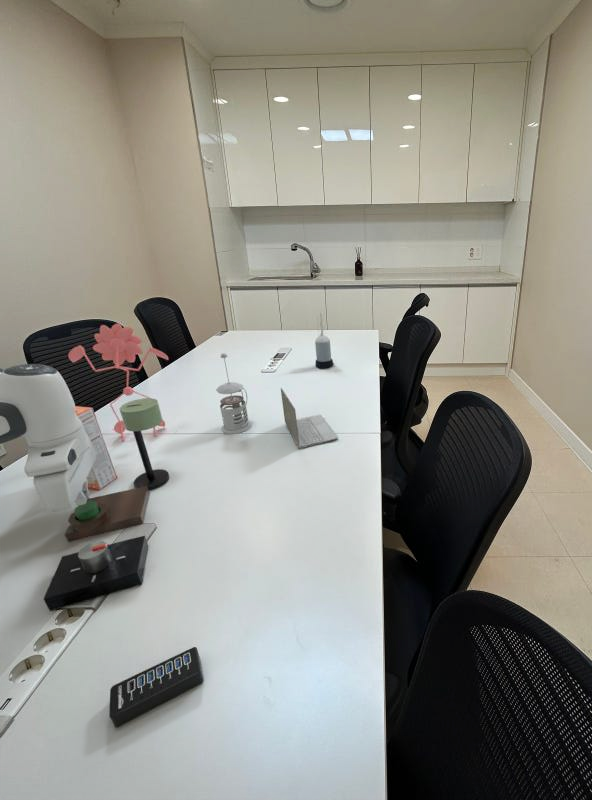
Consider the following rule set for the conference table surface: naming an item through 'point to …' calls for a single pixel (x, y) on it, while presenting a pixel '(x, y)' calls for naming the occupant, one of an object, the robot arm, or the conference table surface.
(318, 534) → the conference table surface
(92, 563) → the dimmer knob
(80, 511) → the lamp switch
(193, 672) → the multiport hub
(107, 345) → the figurine
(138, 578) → the dimmer panel
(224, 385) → the french press
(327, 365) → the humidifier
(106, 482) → the cracker box
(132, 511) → the brown green button box
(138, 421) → the desk lamp
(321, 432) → the laptop
